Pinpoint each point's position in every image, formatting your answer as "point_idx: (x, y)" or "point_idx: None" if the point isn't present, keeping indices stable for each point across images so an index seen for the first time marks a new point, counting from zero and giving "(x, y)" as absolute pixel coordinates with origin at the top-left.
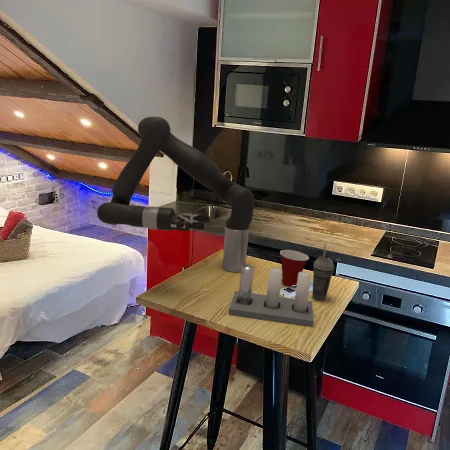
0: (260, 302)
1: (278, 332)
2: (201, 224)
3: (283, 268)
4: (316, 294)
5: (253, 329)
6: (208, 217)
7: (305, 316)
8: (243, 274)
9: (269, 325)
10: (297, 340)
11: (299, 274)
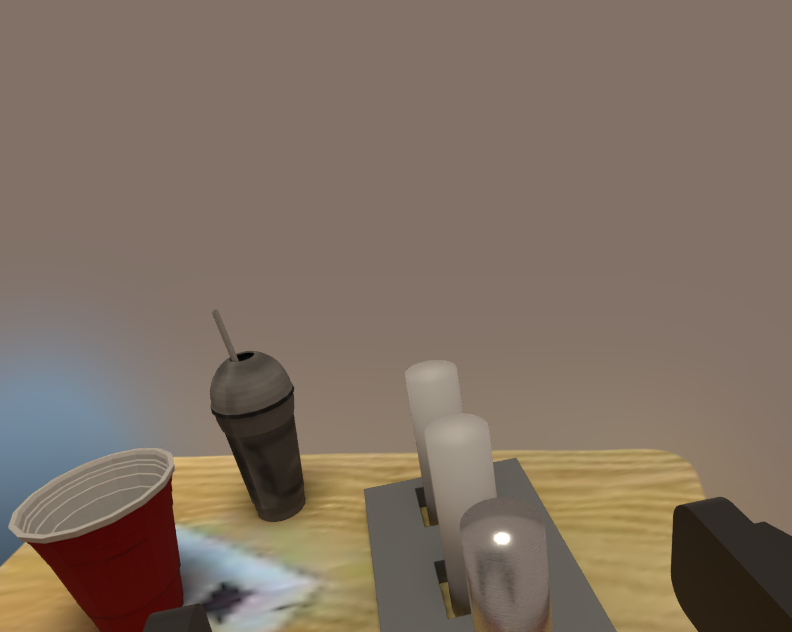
0: None
1: (642, 536)
2: (758, 535)
3: (137, 571)
4: (298, 488)
5: None
6: (202, 620)
7: (499, 477)
8: (547, 564)
9: (617, 572)
10: (642, 485)
11: (446, 378)
